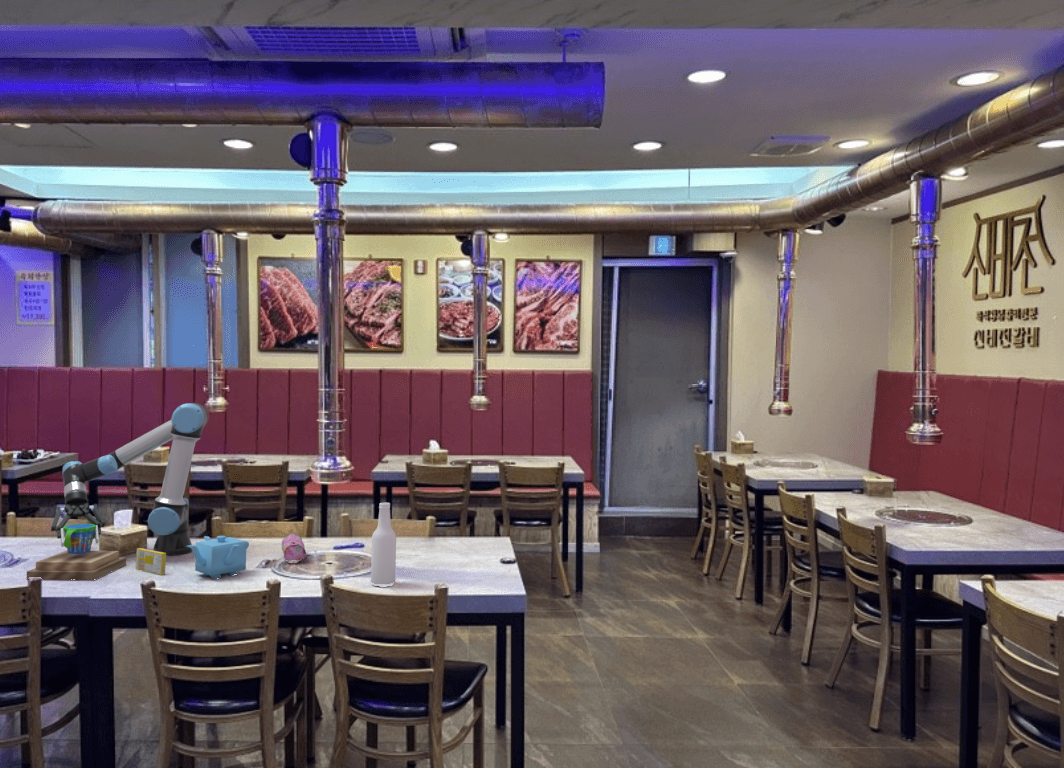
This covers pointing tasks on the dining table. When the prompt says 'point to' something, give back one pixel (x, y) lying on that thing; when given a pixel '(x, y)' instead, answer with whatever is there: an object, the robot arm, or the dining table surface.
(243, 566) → the teakettle
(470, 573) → the dining table surface
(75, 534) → the snack cup
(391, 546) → the alcohol
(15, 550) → the dining table surface
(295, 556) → the pencil case
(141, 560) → the candy box
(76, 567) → the walnut stand
